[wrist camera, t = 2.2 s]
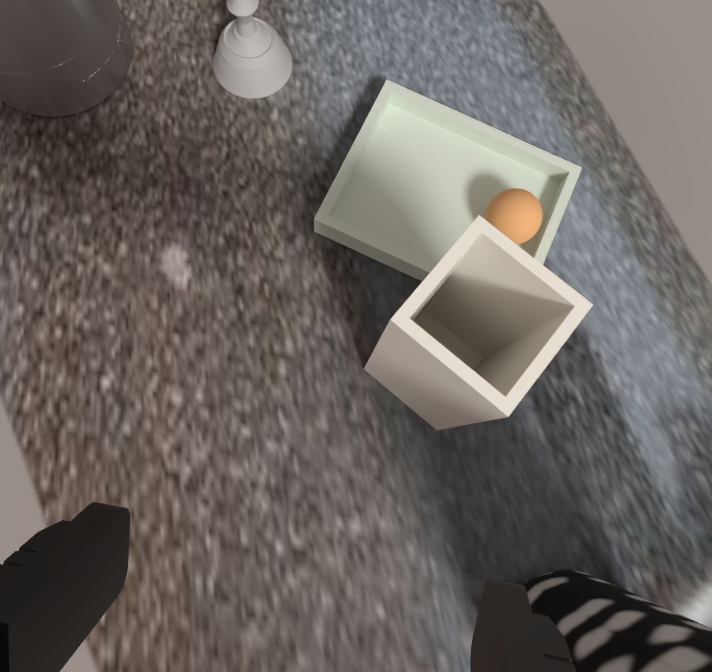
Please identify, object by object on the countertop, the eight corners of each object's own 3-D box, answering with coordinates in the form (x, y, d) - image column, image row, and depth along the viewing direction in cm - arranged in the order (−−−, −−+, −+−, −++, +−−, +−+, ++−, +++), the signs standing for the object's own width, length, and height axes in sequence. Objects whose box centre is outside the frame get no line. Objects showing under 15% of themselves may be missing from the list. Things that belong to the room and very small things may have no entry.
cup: (363, 369, 31) (390, 319, 20) (421, 300, 32) (479, 215, 21) (436, 430, 31) (508, 416, 19) (492, 358, 32) (593, 304, 20)
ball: (503, 258, 33) (465, 230, 32) (522, 215, 34) (485, 185, 33) (542, 250, 30) (502, 218, 29) (562, 203, 31) (523, 170, 30)
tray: (314, 231, 33) (313, 219, 31) (383, 98, 35) (386, 79, 33) (511, 322, 33) (522, 315, 31) (568, 182, 35) (582, 167, 33)
